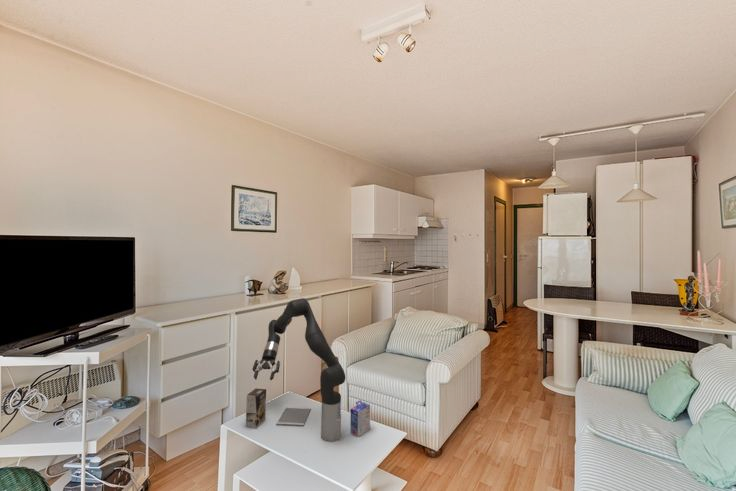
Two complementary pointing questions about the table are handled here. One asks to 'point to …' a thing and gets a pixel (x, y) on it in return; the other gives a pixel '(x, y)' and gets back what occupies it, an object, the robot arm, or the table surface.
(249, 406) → the coffee box
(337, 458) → the table surface
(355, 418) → the ink cartridge box
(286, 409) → the mat
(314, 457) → the table surface
